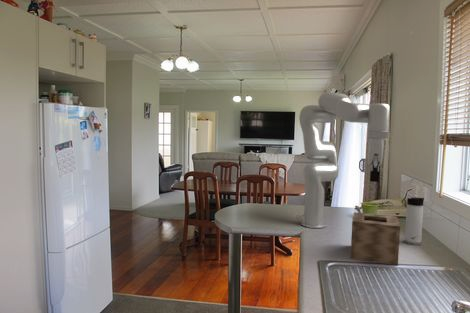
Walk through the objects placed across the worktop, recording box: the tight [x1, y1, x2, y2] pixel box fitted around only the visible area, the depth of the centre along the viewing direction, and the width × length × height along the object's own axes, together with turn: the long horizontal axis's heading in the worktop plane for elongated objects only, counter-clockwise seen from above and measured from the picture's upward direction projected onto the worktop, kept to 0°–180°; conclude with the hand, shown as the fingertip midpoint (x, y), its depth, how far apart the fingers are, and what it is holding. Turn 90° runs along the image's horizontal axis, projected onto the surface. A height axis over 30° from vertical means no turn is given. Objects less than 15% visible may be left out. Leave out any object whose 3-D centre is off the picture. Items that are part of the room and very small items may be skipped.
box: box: [350, 212, 401, 266], centre depth 134 cm, size 16×16×14 cm
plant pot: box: [360, 201, 380, 215], centre depth 190 cm, size 9×9×9 cm
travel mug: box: [404, 197, 425, 246], centre depth 149 cm, size 6×7×20 cm
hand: (374, 179), depth 136 cm, fingers open, 9 cm apart
